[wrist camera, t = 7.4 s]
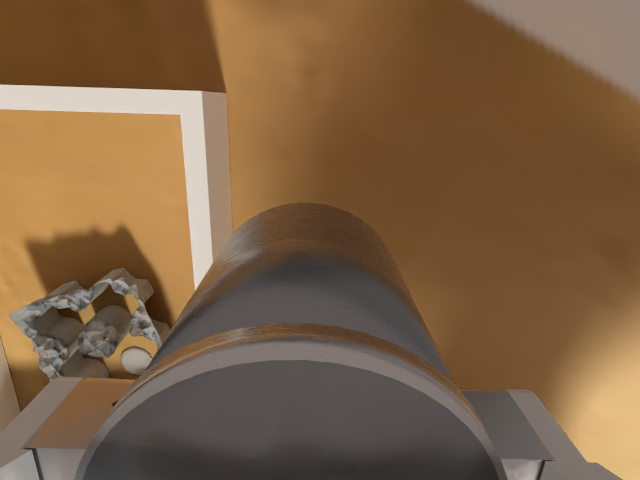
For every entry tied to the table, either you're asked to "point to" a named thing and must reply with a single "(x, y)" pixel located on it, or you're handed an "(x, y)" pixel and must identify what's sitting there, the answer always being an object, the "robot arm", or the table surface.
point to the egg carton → (90, 328)
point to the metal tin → (296, 371)
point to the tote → (199, 158)
